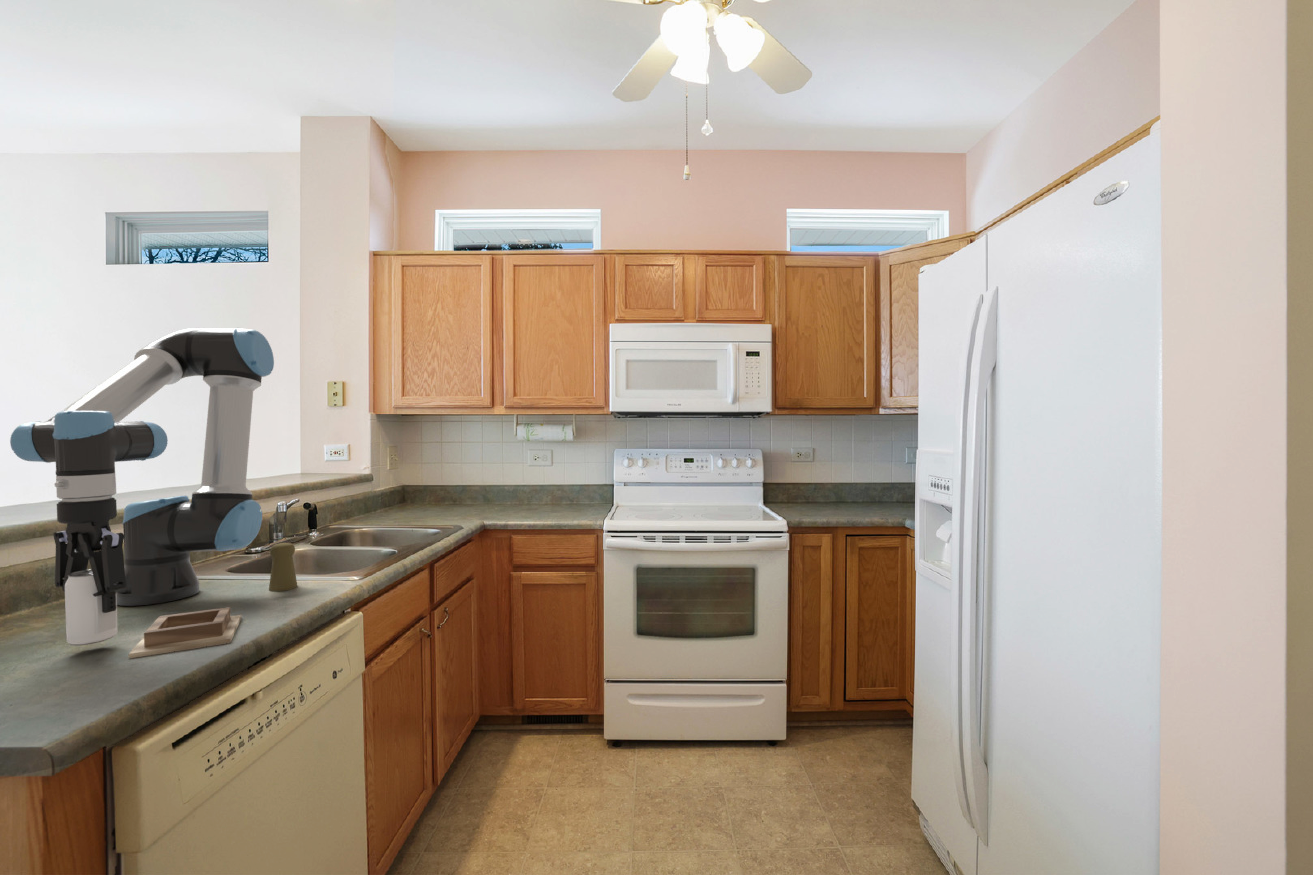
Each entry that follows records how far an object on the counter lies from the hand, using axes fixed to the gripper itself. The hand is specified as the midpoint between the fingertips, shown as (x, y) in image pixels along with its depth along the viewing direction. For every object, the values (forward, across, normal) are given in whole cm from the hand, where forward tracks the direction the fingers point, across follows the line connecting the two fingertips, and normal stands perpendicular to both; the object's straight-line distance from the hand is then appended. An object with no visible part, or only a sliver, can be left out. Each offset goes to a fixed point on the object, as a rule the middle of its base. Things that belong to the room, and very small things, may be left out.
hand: (92, 628), depth 103 cm
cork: (+5, -3, +41) cm, 42 cm away
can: (+2, 0, 0) cm, 2 cm away
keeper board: (+4, +10, +9) cm, 14 cm away
